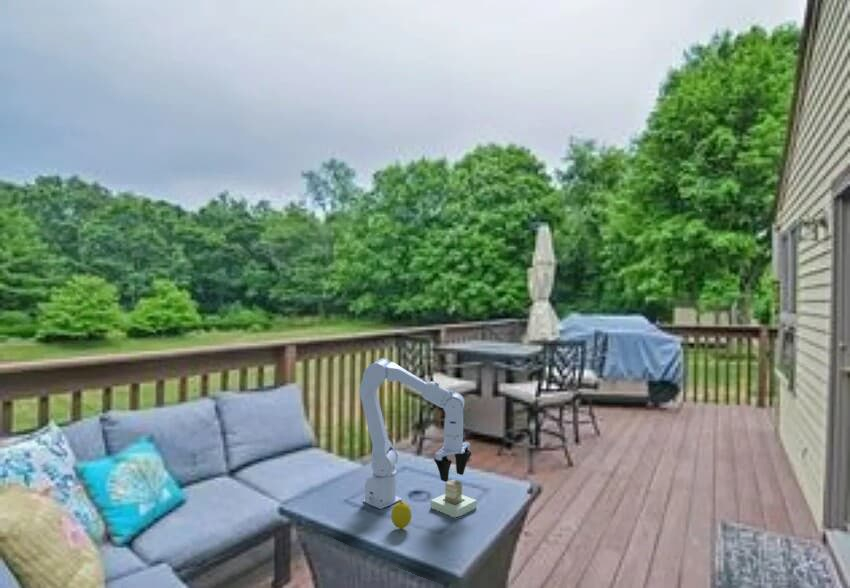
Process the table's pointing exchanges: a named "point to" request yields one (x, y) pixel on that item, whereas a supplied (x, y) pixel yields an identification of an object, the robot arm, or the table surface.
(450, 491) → the peg
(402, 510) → the lemon
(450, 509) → the socket block
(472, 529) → the table surface
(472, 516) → the table surface
